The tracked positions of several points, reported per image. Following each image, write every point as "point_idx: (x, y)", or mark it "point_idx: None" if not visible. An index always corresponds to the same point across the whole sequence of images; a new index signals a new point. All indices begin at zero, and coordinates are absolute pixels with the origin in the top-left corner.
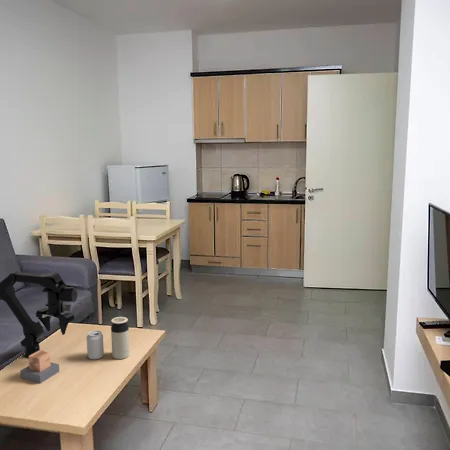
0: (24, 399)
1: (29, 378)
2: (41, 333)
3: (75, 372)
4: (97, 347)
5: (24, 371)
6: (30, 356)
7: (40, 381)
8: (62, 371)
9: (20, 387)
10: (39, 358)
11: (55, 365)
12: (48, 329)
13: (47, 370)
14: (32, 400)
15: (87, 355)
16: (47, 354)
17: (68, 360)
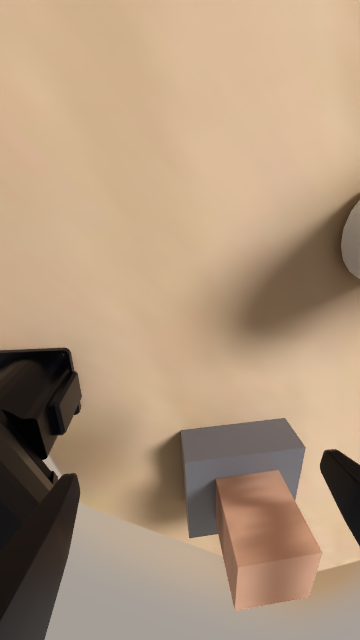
0: None
1: None
2: (9, 486)
3: (352, 393)
4: None
5: (210, 533)
6: (247, 607)
7: None
8: (296, 412)
9: None
10: (307, 595)
11: (298, 460)
12: (71, 518)
13: (292, 494)
14: (313, 535)
15: (354, 273)
16: (317, 561)
17: (258, 335)
